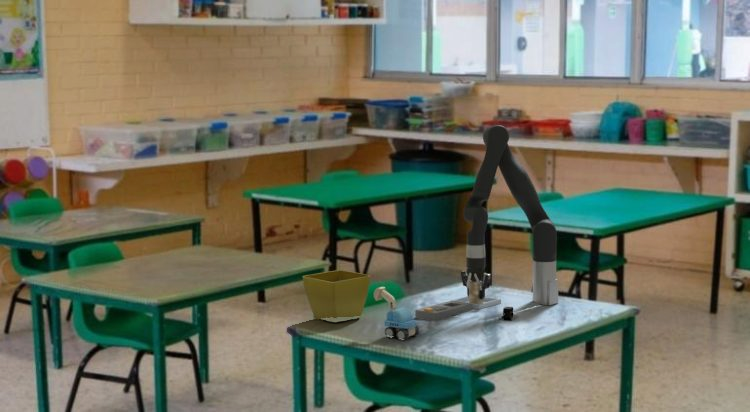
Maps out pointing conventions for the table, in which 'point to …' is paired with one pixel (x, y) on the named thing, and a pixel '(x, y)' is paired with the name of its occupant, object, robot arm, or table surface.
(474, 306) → the tray
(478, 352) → the table surface
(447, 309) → the power strip
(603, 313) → the table surface
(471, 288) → the plug peg
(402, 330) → the toy excavator
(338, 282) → the flower pot
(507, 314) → the black block
